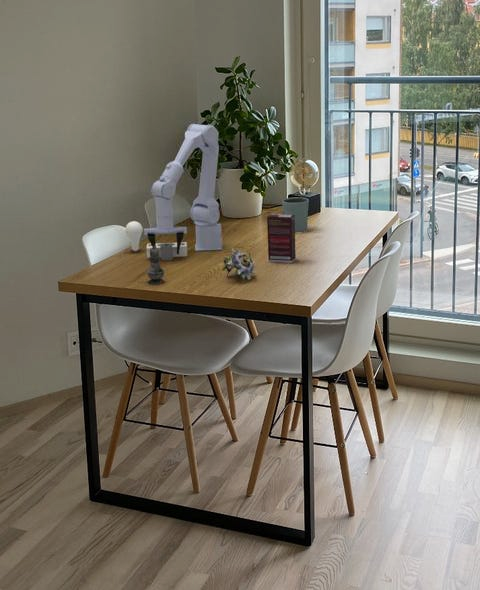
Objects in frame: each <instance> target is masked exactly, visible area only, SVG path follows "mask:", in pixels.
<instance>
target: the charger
mask: <svg viewBox="0 0 480 590" xmlns="http://www.w3.org/2000/svg"><path fill="white" fill-rule="evenodd" d="M172 243H173V242H168V243H167V242H163V244H161V245H160V248H161V257H160V259H161V260H160V262H161V261H173V259H174V257H173V249H172Z"/></svg>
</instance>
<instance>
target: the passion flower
mask: <svg viewBox="0 0 480 590" xmlns="http://www.w3.org/2000/svg"><path fill="white" fill-rule="evenodd" d="M230 251H231V254H232V255H230V256H225V257H224V259H223V263H224V265H225V266H223V268H222V271H225V270H226V277H227V278H228V277H229V273H230V272H231V271H232V270H233V269H235V270H234V273H235V275H236V276H239V277H240V279H242V280H246V281H251V279H252V278H251V274H252V275H255V274H256V271H255V268H256V266H255V265H254V264H255V260H253V257H252V255H251V252H248V253H247V252H246V251H245V252H244V251H243V252H242V250H241V249H239V250H235V249H234V248H233V247H231V248H230Z"/></svg>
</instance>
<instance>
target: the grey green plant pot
mask: <svg viewBox="0 0 480 590" xmlns="http://www.w3.org/2000/svg"><path fill="white" fill-rule="evenodd" d="M309 202H310V200H309V198H307V197H300V196H299V197H297V196H296V197H288V198H284V199H282V200H281V204H282V205H281V206H282V212H283V214H294V215H295V234H297V233H296V232H302V233H305V232H304V231H306V230H307V231H308V219H309V215H308V214H309V204H310V203H309ZM307 231H306V232H307Z"/></svg>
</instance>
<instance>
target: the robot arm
mask: <svg viewBox="0 0 480 590" xmlns="http://www.w3.org/2000/svg"><path fill="white" fill-rule="evenodd" d="M198 148H199V149H200V150H201V152H202V157H201V160H202V161H201V166H200V167H201V170H200V177H199V180H200V181H199V187H198V196H197V197H196V198H195V199H194V200H193V202H192V206H191V209H190V212H189V213H190V215H189V216H190V218H191V220H192V221H193V223H194V224H195V242H196V243H195V244H194V247H195V251H196V252H200V251H201V252H202V251H220V250H223V243H224V242H223V238H222V236H223V235H222V223H218V222H219V220H220V216H221V215H220V207H219V206H220V204H219V202H218V201H217V200H216V198H215V190H216V179H217V171H218V170H217V169H218V161H219V154H220V153H219V151H220V147H219V131H218V129H217V128H216V127H215V126H214V125H213V124H212V125H211V124H210V125H206V124H198V123H191V124H190V125H189V126H188V127H187V129H186V131H185V132H184V140H183V142H182V144H181V146H180V148H179V150H178V152H177V155H176V156H175V159H174V160H173V161H170V162H169V163H167V164H166V166H165V168H164V170H163V172H162V174H161V176H159V179H158V180H157V181H155V182H154V183H153V184H152V186H151V189H150V192H151V195H152V197H153V198H154V199H153V201H154V202H155V215H156V227H150V228H143V233H144V234H143V235H144V236H147V239H148V242H149V243H151V245H152V247H153V246H155V248H156V244H157V241H156V235H171V234H172V235H174V234H176V243H177V254H179V249H180V245H181V243H182V242H183V239H184V236H185V235H184V234H187V232H188V229H187V226H174V208H173V197H174V196H175V194H176V187H177V183H178V182H179V180H180V178H181V177H182V174H183V173H184V170H185V169H184V167H183V166H184V165H185V163H186V162H187V161H188V159H189V158H190V157H191V155H192V153H193V152H194V150H195V149H198Z"/></svg>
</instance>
